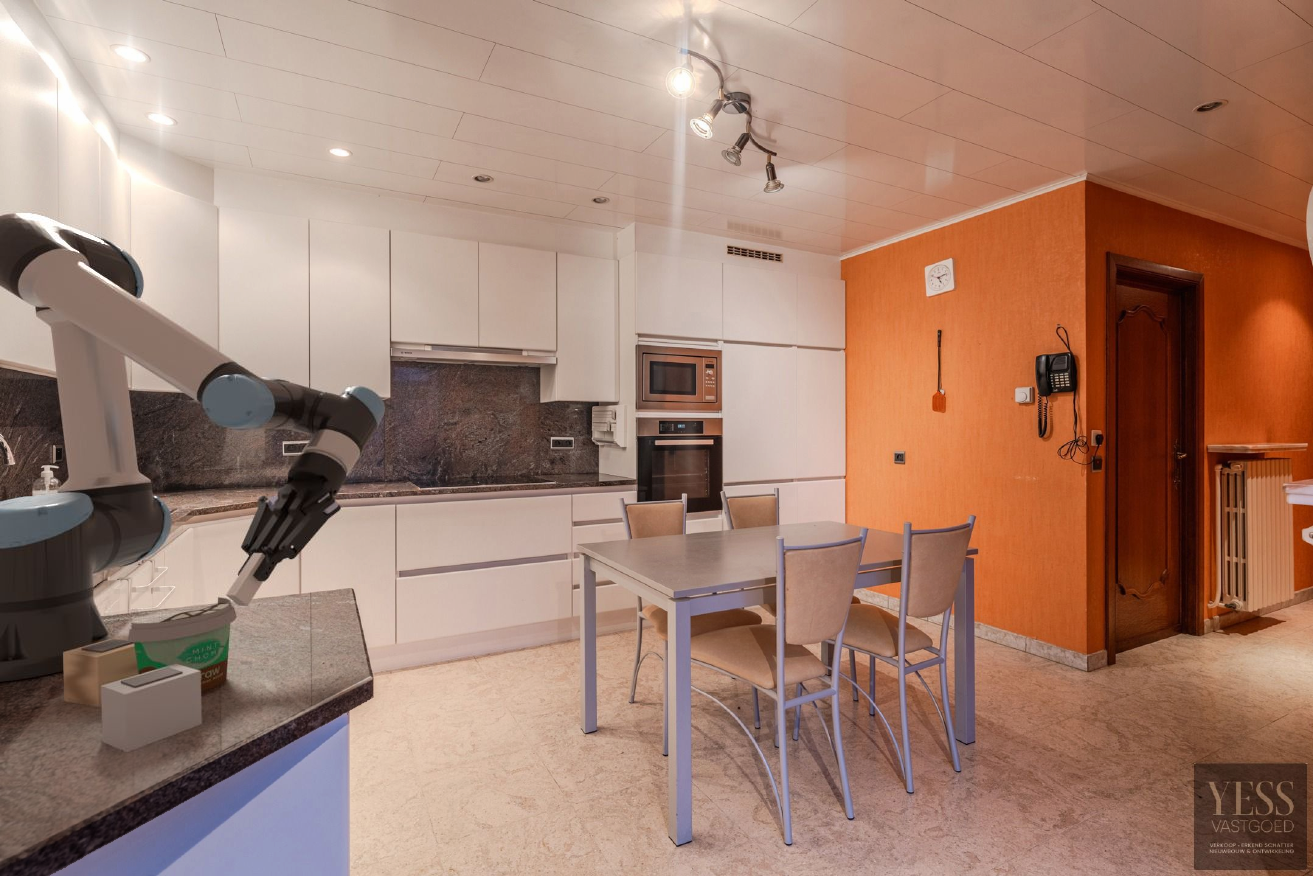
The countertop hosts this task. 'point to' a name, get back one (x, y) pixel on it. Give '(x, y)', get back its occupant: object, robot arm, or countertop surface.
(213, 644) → the food container
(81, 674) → the oak block
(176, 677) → the grey painted block
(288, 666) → the countertop surface
